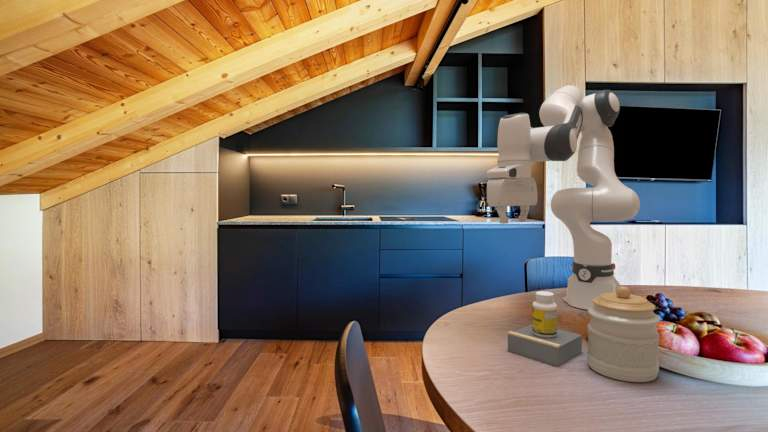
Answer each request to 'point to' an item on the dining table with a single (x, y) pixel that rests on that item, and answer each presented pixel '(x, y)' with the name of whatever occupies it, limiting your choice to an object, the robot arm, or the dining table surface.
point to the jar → (623, 337)
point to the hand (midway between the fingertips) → (513, 222)
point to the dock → (545, 345)
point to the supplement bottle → (544, 315)
